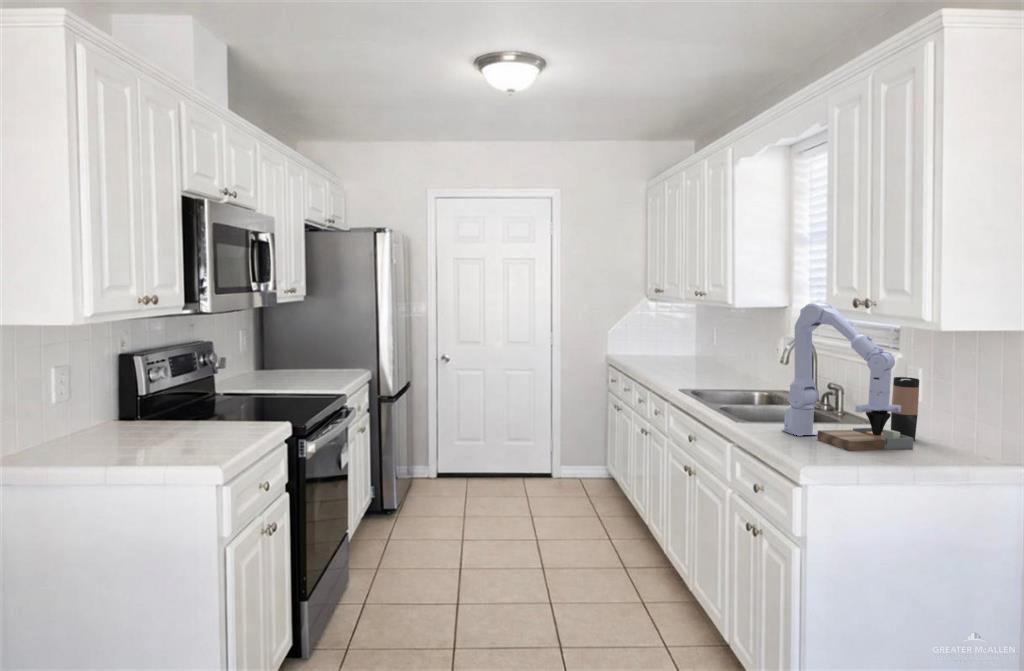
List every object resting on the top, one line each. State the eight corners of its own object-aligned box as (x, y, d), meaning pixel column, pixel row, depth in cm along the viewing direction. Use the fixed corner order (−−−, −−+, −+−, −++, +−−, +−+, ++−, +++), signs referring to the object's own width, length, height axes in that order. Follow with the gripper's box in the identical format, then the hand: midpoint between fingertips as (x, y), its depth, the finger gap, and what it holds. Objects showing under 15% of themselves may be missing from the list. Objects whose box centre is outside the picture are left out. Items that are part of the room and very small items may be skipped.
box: (850, 438, 240) (850, 428, 239) (877, 438, 242) (877, 427, 241) (884, 450, 224) (885, 438, 224) (912, 449, 226) (913, 438, 226)
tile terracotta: (878, 431, 238) (877, 438, 238) (865, 431, 237) (865, 438, 237) (887, 434, 234) (887, 441, 234) (875, 434, 233) (875, 442, 233)
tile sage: (883, 429, 230) (889, 429, 231) (881, 443, 231) (888, 443, 231) (893, 432, 226) (900, 432, 227) (892, 446, 226) (899, 446, 227)
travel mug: (912, 437, 244) (916, 377, 242) (918, 442, 237) (922, 380, 235) (887, 435, 246) (890, 376, 245) (892, 440, 239) (896, 379, 237)
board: (817, 439, 237) (817, 430, 237) (850, 438, 240) (850, 429, 239) (849, 451, 222) (850, 441, 221) (884, 450, 224) (885, 440, 224)
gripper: (867, 393, 221) (864, 438, 222) (909, 393, 224) (906, 437, 225) (852, 390, 228) (849, 433, 229) (892, 389, 231) (890, 432, 232)
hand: (876, 435), depth 227 cm, fingers closed
